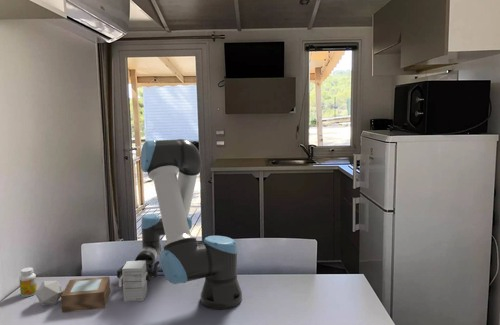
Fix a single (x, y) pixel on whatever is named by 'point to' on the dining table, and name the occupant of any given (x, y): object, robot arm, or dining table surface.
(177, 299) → the dining table surface
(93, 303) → the walnut plinth
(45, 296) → the die
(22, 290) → the supplement bottle
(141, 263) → the supplement box
